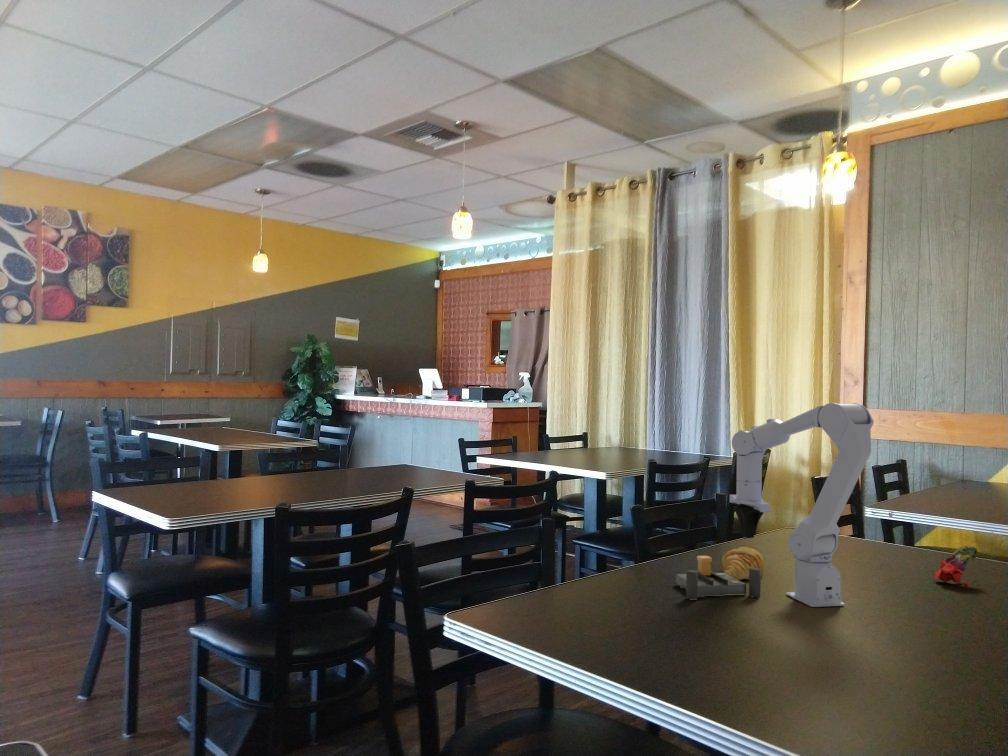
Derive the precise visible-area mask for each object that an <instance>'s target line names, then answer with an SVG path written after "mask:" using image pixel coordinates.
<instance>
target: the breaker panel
mask: <svg viewBox="0 0 1008 756" xmlns="http://www.w3.org/2000/svg"><path fill="white" fill-rule="evenodd" d="M693 570H694V569H693ZM694 571H697V572H698V569H695V570H694ZM675 575H676V577H675V578H676V579H675V581H676V582H675V583H677V584H678V585H680V586H681V587H683V588H684V589H686V573H677V574H675ZM724 594H746V595H747V584H746V583H745V582H743V581H742V580H737V579H735V578H733V577H731V576H729V575H727V574H725V573H724V572H714V571H712V570H711V575H705V576H704V575H703V574H701V573H699V572H698V596H706V595H724Z"/></svg>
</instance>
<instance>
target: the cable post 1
mask: <svg viewBox="0 0 1008 756" xmlns="http://www.w3.org/2000/svg"><path fill="white" fill-rule="evenodd" d="M685 574H686V591H685V593H686V594H685V599H686V598H688V599H697V598H698V599H699V597H698V572H697V571H694V569H688V570H686V572H685Z"/></svg>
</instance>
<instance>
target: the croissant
mask: <svg viewBox="0 0 1008 756" xmlns="http://www.w3.org/2000/svg"><path fill="white" fill-rule="evenodd" d="M721 562H722V563H721V565H722V566H721V568H722V570H723V573H725V574H727V575H729V576H731V577H733V578H735V579H737V580H739V581H744V580H743V579H746V580H749V568H758V569H760V570H761V575H762V574H763V571H764V568H765V559H764V557H763V555H762V554H761V552H759V550H756V549H754V547H752V546H751V547H750V546H739V547H735V548H732V549H729V550H728V551H726V553H724V555H723V556H722V557H721Z"/></svg>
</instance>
